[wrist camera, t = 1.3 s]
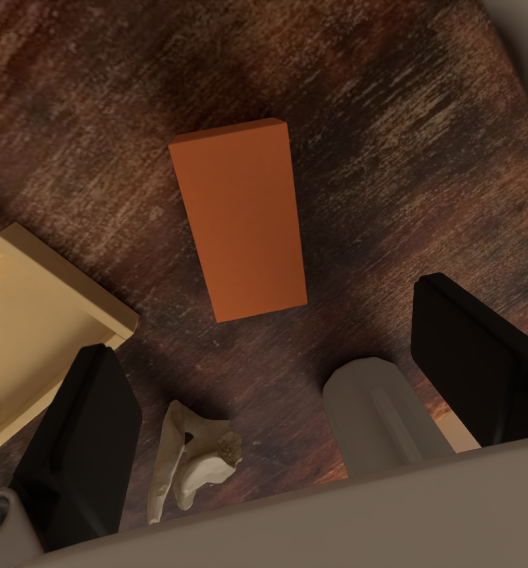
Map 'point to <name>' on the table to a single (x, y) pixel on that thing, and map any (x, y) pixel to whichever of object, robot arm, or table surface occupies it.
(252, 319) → the table surface
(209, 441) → the bone
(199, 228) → the orange angular block
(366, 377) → the water bottle
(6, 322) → the wooden tray
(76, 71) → the table surface
